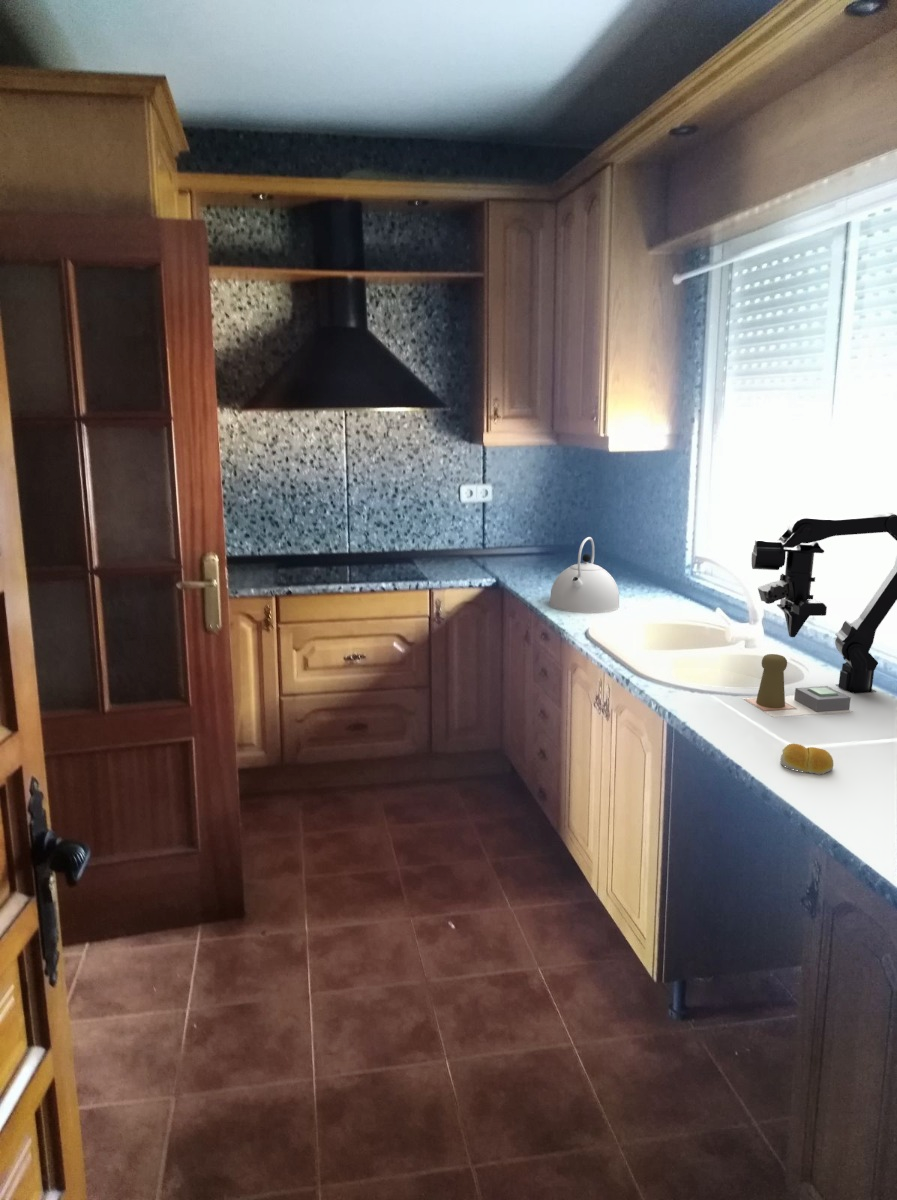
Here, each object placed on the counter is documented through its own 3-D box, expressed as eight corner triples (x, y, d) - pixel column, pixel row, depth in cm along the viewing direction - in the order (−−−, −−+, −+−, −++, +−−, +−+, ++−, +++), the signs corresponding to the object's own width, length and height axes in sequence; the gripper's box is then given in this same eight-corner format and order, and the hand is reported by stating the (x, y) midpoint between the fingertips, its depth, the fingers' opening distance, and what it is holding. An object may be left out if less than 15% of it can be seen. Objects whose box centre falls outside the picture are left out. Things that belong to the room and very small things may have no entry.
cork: (784, 700, 194) (788, 652, 192) (786, 709, 188) (791, 660, 186) (755, 697, 196) (759, 650, 193) (756, 706, 190) (761, 657, 188)
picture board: (817, 696, 200) (818, 681, 199) (851, 714, 188) (853, 698, 188) (742, 701, 196) (743, 686, 195) (772, 719, 184) (774, 704, 183)
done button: (824, 697, 194) (825, 687, 194) (835, 703, 190) (836, 693, 190) (808, 698, 193) (809, 688, 193) (819, 704, 190) (820, 694, 189)
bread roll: (833, 779, 156) (836, 758, 155) (780, 771, 159) (782, 750, 158) (831, 761, 163) (833, 741, 162) (780, 754, 166) (782, 734, 165)
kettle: (608, 617, 272) (611, 546, 267) (538, 610, 281) (540, 540, 276) (626, 602, 294) (630, 535, 289) (561, 595, 303) (563, 530, 298)
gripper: (748, 563, 209) (743, 626, 213) (781, 578, 191) (774, 647, 195) (794, 563, 210) (787, 627, 213) (831, 579, 192) (823, 647, 195)
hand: (792, 636), depth 204 cm, fingers closed
